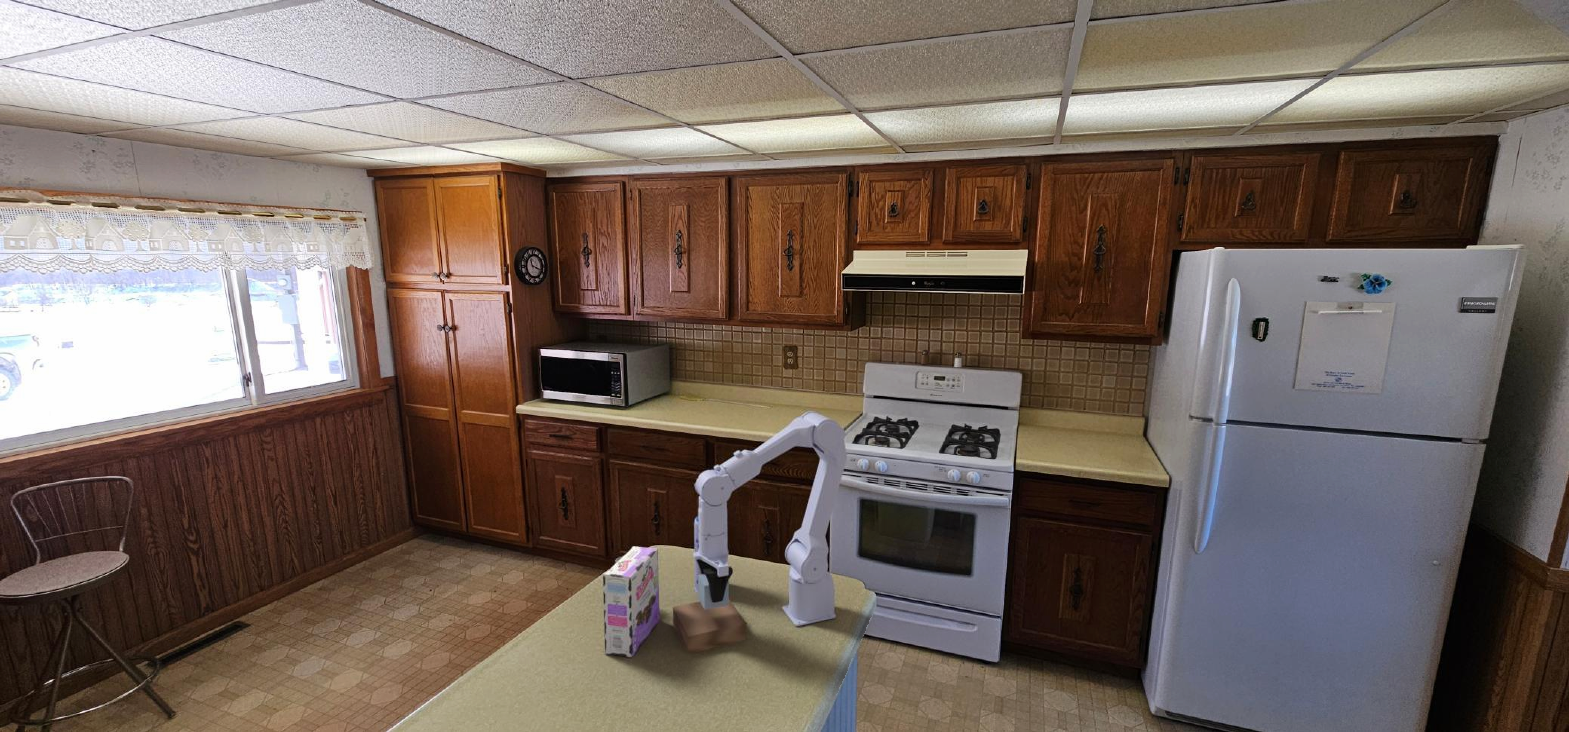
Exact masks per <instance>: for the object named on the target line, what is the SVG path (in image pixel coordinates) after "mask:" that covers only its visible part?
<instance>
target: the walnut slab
mask: <svg viewBox="0 0 1569 732" xmlns="http://www.w3.org/2000/svg"><path fill="white" fill-rule="evenodd" d="M672 624H673V625H674V627H675V630H676V631H677V634H678V636H679V638H680V640H681V642H682V643H683V646H684V648H685V650H686V652H687V654H688V655H689V654H693V653H697V652H701V651H706V650H710V649H713V648H718V647H721V646H722V647H723V646H726V645H730V644H734V643H738V642H742V641H746V640H747V622H746V620H745V619H744V618H743V616H742V615H741V613H740V612H739V611H738V609H737V607H735V605H734V604H733V602H732V600H730V598H729V605H727V606H722V607H716V608H711V609H706V610H704V608H703V606H702V604H701V602H700V601H696V602H691V603H687V604H681V605H676V606H672Z"/></svg>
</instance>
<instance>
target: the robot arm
mask: <svg viewBox="0 0 1569 732" xmlns="http://www.w3.org/2000/svg"><path fill="white" fill-rule="evenodd" d="M845 436H846V431H845V430H844V429H843V428H842V426H841V425H840V423H839V422H838V421H837V420H835V419H833V418H829V417H827V416H824V415H822V414H820V413H819V412H818V411H813V410H812V411H811V410H810V411H806V412H804V413H803V414H802V415H801V416H798V417H795V418H794V419H793V420H792V421H791V422H790V423H789V424H788V425H787V426H786V427H784V428H783V429H782V430H780V431H779V432H777V433H776V434H775V435H773V436H772V437H770V438H769V439H767V440H766V441H765V442H763V443H762V444H761V445H759V446H758V447H757V448H755V449H754V450H747V449H743V450H742V451H741V450H736V451H735V452H733V456H732V457H731V458H729V459H728V460H726V461H724V462H723V463H721V464H716V465H714V466H713V469H707V470H704V471H702V472H701V473H700V474H699V475H698V478H696V481H695V483H694V485H693V486H694V489H695V492H696V493H697V494H698V495H699V496H698V510H697V511H698V512H697V513H698V515H697V517H698V518H699V550H698V552H695V551H694V552H692V556H693V559H694V560H695V559H696V561H697V563H698V565H699V568H700V571H701V574H705V575H706V577H707V580H708V584H709V589H710V596H711V600H712V602H713V603H715V602H720V601H723V598H724V594H725V589H726V586H727V583H728V581H729V580H730V578H731V576H733V573H734V569H733V567H732V566H730V565H729V564H728V563H729V562H728V559H729V549H728V508H727V506H728V502H727V501H729V499H730V498H731V495H732V493H733V491H735V490H736V489H738V488H740V487H742V486H743V485H744V484H746V483H747V482H749V481H750V480H753V479H754V478H755V477H756V476H758V475H760V473H761V469H762V466H763V465H765V464H766V463H768V462H770V461H771V460H773V459H775V458H777V457H779V456H780V455H782V454H784V453H785V452H787V451H789V450H791V449H792V448H794V447H802V448H803V447H804V448H813V449H814V451H815V452H816V454H817V456H818V457H819V463H818V466H817V470H816V474H815V476H814V477H815V478H814V480H813V484H812V487H811V491H810V493H809V494H810V495H809V498H808V503H807V504H806V505H807V506H806V509H805V513H804V516H803V520H802V523H801V527H800V528H799V529H798V530H796V531H794V534H793V535H792V536H793V537H792V539H791V540H790V542H789V543H788V544H787V546H786V548H785V551H784V557H785V560H786V561H787V563H788V564H789V565H790V566H789V575H788V576H789V578H788V584H789V585H788V605H783V606H782V607H781V609H782V610H783V613H785V614H786V616H787V617H788V618H789V619H790V621H791V622H792V623H793V625H794V626H795V627H800V626H803V625H804V626H805V625H809V624H814V623H818V622H823V621H826V620H831V619H836V617H837V615H836V614H835V595H836V594H835V590H836V589H835V588H836V587H835V583H834V578H833V577H832V575H831V573H830V572H829V571H828V570H829V569H828V568H829V563H828V556H829V555H828V554H829V547H828V546H829V545H828V542H827V538H826V535H827V532H828V528H829V523H830V521H831V516H832V513H833V509H834V507H835V506H834V505H835V502H836V498H837V495H838V491H839V487H840V484H841V481H842V477H843V473H844V469H845V466H846V463H847V459H848V457H847V454H848V453H847V449H846V443H845V438H846V437H845Z"/></svg>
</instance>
